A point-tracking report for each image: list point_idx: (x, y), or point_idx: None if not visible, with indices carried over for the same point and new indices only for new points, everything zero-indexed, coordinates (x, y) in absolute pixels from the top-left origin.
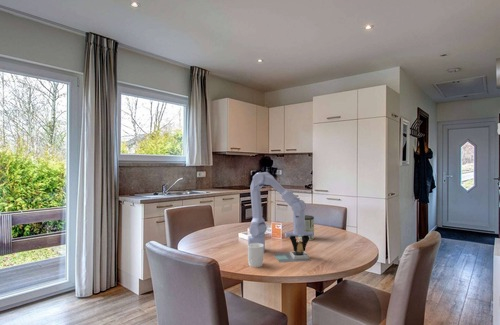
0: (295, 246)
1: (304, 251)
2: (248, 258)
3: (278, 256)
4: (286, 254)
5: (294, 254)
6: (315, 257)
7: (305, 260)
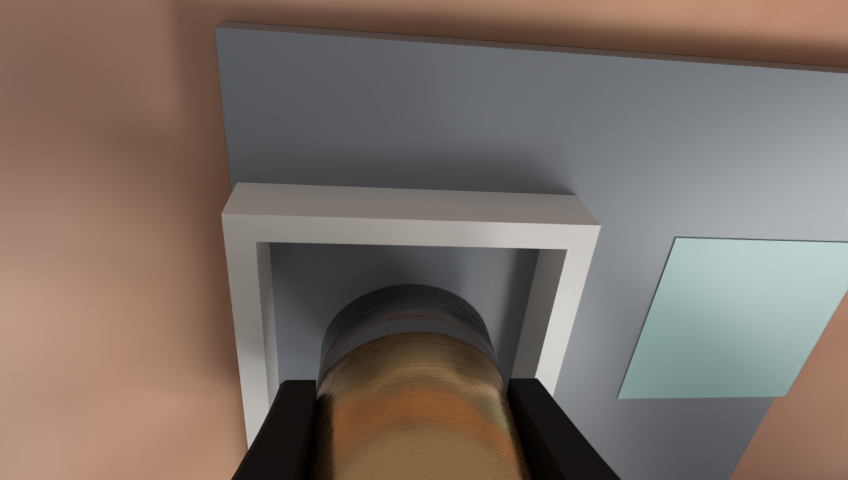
0: (584, 475)
1: None
2: None
3: (749, 370)
4: None
5: None
6: (64, 294)
7: (365, 77)
